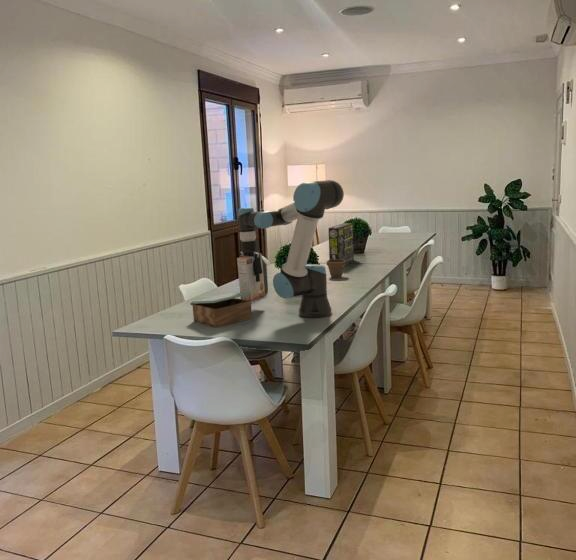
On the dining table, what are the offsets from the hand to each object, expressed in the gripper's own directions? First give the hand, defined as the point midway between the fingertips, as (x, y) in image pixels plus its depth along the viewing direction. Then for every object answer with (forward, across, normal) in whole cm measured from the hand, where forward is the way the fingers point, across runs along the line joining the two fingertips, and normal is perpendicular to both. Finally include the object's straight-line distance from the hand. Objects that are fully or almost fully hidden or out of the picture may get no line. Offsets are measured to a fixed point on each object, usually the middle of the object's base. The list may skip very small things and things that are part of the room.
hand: (252, 287), depth 281 cm
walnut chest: (+11, -2, +20) cm, 23 cm away
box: (+10, +54, -120) cm, 132 cm away
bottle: (+11, +31, -28) cm, 43 cm away
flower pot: (+11, +25, -84) cm, 88 cm away
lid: (+2, -2, +20) cm, 20 cm away
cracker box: (+5, 0, 0) cm, 5 cm away
